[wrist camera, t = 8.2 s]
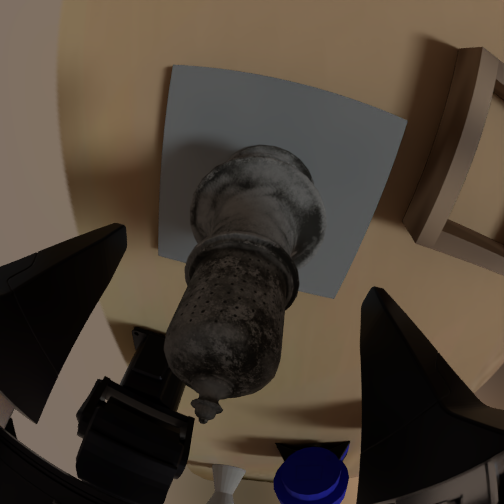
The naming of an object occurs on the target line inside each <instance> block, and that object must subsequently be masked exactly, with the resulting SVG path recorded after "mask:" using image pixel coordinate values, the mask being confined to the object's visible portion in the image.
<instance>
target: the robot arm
mask: <svg viewBox="0 0 504 504" xmlns="http://www.w3.org/2000/svg"><path fill="white" fill-rule="evenodd" d="M126 248H127V235H126V227H125V225H122V224H119V223H113V224H110V225H107V226H104V227H102V228H99V229H96V230H93V231H90V232H88V233H85V234H82V235H80V236H77V237H74V238H72V239H69V240H66V241H64V242H61V243H59V244H56V245H54V246H51V247H49V248H46V249H44V250H41V251H39V252H38V253H34V254H31V255H29V256H27V257H24V258H22V259H19V260H17V261H14V262H11V263H9V264H6V265H3V266H1V267H0V504H163V503H164V501H165V498H166V495H167V492H168V489H169V488H170V485H171V483H172V481H173V478H174V479H178V478H179V477H180V476H181V474H182V473H183V471H184V469H185V466H186V463H187V460H188V456H189V451H190V444H191V438H192V432H193V426H194V420H195V418H193V417H190V416H185V415H183V414H180V413H178V412H177V409H178V406H179V403H180V400H181V397H182V394H183V391H184V388H185V385H186V384H184V383H183V382H182V381H181V380H180V379H179V378H178V377H177V376H176V375H175V374H174V373H173V372H172V370H171V369H170V367H169V365H168V362H167V359H166V356H165V353H164V343H165V336H161V335H158V334H155V333H152V332H149V331H146V330H143V329H140V328H137V327H134V328H133V330H132V335H133V340H134V345H135V349H136V352H135V354H134V356H133V358H132V360H131V362H130V364H129V366H128V368H127V370H126V372H125V374H124V377H123V379H122V381H121V383H120V385H119V384H117V383H115V382H113V381H111V380H110V378H108V377H106V376H105V377H104V379H103V380H100V379H97V381H96V383H95V385H94V387H93V389H92V391H91V393H90V394H89V396H88V397H87V399H86V400H85V402H84V403H83V404H82V406H81V407H80V409H79V410H78V412H77V414H76V417H77V420H78V422H79V424H78V432H77V435H78V436H79V437H81V438H83V441H82V443H81V446H80V449H79V451H78V455H77V457H76V471H77V476H78V478H79V479H81V480H82V481H81V480H79V479H77V478H75V477H73V476H71V475H70V474H68V473H66V472H64V471H63V470H61V469H60V468H58V467H56V466H55V465H53V464H52V463H50V462H48V461H47V460H45V459H44V458H42V457H41V456H39V455H38V454H36V453H35V452H34V451H32V450H31V449H29V448H28V447H27V446H25V445H24V444H23V443H21V442H20V441H18V440H17V438H16V433H15V429H14V425H13V421H12V418H10V417H11V415H12V413H13V411H14V409H16V410H17V411H19V412H20V413H21V414H22V415H24V416H25V417H27V418H28V419H29V420H31V421H32V422H34V423H36V424H37V423H38V421H39V418H40V416H41V414H42V411H43V408H44V406H45V404H46V402H47V399H48V397H49V395H50V393H51V390H52V388H53V386H54V384H55V381H56V380H57V378H58V375H59V373H60V371H61V369H62V367H63V365H64V363H65V361H66V359H67V357H68V355H69V353H70V351H71V349H72V347H73V345H74V343H75V341H76V340H77V338H78V336H79V334H80V332H81V330H82V328H83V327H84V325H85V323H86V321H87V320H88V318H89V316H90V314H91V313H92V311H93V309H94V308H95V306H96V304H97V302H98V301H99V299H100V297H101V296H102V294H103V293H104V291H105V289H106V288H107V286H108V284H109V283H110V281H111V279H112V277H113V275H114V273H115V271H116V269H117V267H118V265H119V263H120V261H121V259H122V257H123V255H124V253H125V251H126ZM360 357H361V383H362V432H361V454H360V470H359V483H358V493H357V502H356V504H390V503H395V504H504V410H501V409H496V408H492V407H489V406H487V405H485V404H483V403H482V402H481V401H480V400H479V399H478V398H477V397H476V396H475V395H474V393H473V392H472V391H471V390H470V389H469V388H468V386H467V385H466V384H465V383H464V382H463V381H462V380H461V379H460V377H459V376H458V375H457V374H456V373H455V372H454V371H453V369H452V368H451V367H450V366H449V365H448V363H447V362H446V361H445V360H444V358H443V357H442V356H441V355H440V353H438V351H437V350H436V349H435V347H434V346H433V345H432V344H431V343H430V341H429V340H428V339H427V338H426V337H425V335H424V334H423V333H422V332H421V331H420V329H419V328H418V327H417V326H416V325H415V324H414V322H413V321H412V320H411V319H410V318H409V317H408V316H407V314H406V313H405V312H404V311H403V310H402V309H401V308H400V306H399V305H398V304H397V303H396V302H395V301H394V300H393V299H392V298H391V296H390V295H389V294H388V293H387V292H386V291H385V290H384V289H383V288H379V287H375V286H374V287H372V288H371V289H370V291H369V293H368V294H367V296H366V298H365V299H364V301H363V303H362V306H361V329H360ZM105 399H106V400H108V401H107V403H106V402H105Z"/></svg>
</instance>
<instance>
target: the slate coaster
mask: <svg viewBox="0 0 504 504" xmlns="http://www.w3.org/2000/svg"><path fill="white" fill-rule="evenodd" d="M406 125H407V120H405V119H403V118H400V117H398V116H396V115H393V114H391V113H388V112H386V111H383V110H381V109H378V108H376V107H373V106H370V105H368V104H365V103H362V102H359V101H357V100H354V99H351V98H348V97H345V96H342V95H338V94H335V93H332V92H329V91H325V90H322V89H318V88H315V87H311V86H307V85H303V84H299V83H295V82H291V81H287V80H282V79H278V78H273V77H268V76H263V75H257V74H252V73H246V72H240V71H233V70H225V69H217V68H209V67H198V66H185V65H173V69H172V75H171V81H170V88H169V95H168V103H167V111H166V119H165V128H164V138H163V149H162V162H161V177H160V197H159V234H158V256H162V257H166V258H169V259H173V260H177V261H181V262H184V263H186V262H187V258H188V256H189V255H190V253H191V252H192V250H193V249H194V247H195V246H196V245H197V244H198V243H197V241H196V240H195V238H194V234H193V231H192V228H191V225H190V205H191V201H192V197H193V193H194V191H195V190H196V188H197V186H198V185H199V183H200V181H201V180H202V178H204V177H205V176H206V175H207V174H208V173H209V172H210V171H211V170H212V169H214V168H215V167H216V166H218V165H220V164H222V163H224V162H226V161H227V160H228V159H229V158H231V157H232V156H233V155H234V154H235V153H236V152H239V151H241V150H243V149H245V148H247V147H251V146H257V145H269V146H277V147H279V148H282V149H285V150H287V151H290V152H291V153H292V154H294V155H295V156H296V157H298V158H299V159H300V160H301V161H302V162H303V163H304V165H305V166H306V167H307V168H308V170H309V172H310V174H311V176H312V179H313V181H314V186H315V187H316V189H317V190H318V191H319V193H320V196H321V198H322V201H323V203H324V206H325V209H326V221H327V228H326V232H325V237H324V241H323V243H322V245H321V247H320V248H319V250H318V252H317V254H316V255H315V256H314V257H313V258H312V259H311V260H310V261H309V262H308V263H307V264H306V265H305V266H304V267H302V268H301V269H299V270H298V274H299V283H300V284H299V289H298V291H301V292H306V293H310V294H314V295H319V296H323V297H328V298H332V299H334V298H335V296H336V294H337V292H338V290H339V288H340V286H341V284H342V282H343V280H344V278H345V276H346V274H347V272H348V270H349V268H350V266H351V264H352V262H353V259H354V257H355V255H356V253H357V251H358V249H359V246H360V244H361V242H362V240H363V238H364V235H365V233H366V231H367V229H368V226H369V224H370V222H371V219H372V217H373V214H374V212H375V210H376V207H377V205H378V202H379V200H380V197H381V195H382V192H383V190H384V187H385V185H386V182H387V179H388V177H389V174H390V171H391V169H392V166H393V163H394V160H395V158H396V155H397V152H398V149H399V146H400V143H401V140H402V137H403V134H404V131H405V128H406Z"/></svg>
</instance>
